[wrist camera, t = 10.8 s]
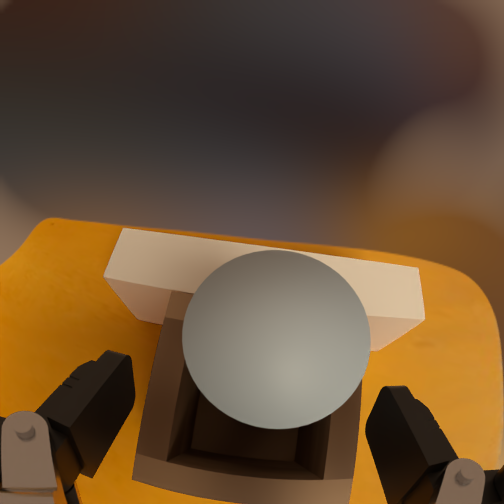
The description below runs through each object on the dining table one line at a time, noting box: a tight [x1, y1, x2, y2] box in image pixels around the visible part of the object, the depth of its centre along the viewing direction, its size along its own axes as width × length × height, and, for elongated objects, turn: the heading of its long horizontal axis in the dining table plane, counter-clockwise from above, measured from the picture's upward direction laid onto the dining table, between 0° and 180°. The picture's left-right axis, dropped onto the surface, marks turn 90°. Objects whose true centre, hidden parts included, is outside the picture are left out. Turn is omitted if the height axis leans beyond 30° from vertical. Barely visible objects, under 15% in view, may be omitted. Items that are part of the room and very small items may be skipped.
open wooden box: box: [132, 291, 362, 504], centre depth 12 cm, size 8×8×7 cm
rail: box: [103, 228, 425, 351], centre depth 16 cm, size 16×3×6 cm, turn 82°
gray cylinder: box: [182, 250, 371, 429], centre depth 10 cm, size 4×4×12 cm
